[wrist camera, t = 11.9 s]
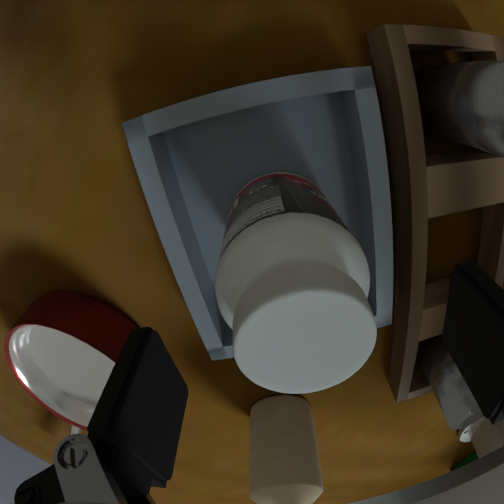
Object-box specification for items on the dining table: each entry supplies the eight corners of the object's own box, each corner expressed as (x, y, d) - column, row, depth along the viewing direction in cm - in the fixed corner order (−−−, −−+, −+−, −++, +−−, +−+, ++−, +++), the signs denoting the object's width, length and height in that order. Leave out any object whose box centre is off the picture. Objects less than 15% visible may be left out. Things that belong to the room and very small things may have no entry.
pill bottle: (347, 221, 17) (427, 343, 8) (275, 279, 18) (291, 425, 10) (282, 147, 15) (326, 215, 6) (207, 217, 17) (163, 348, 8)
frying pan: (138, 471, 34) (131, 507, 29) (56, 440, 32) (44, 473, 26) (181, 325, 21) (162, 398, 15) (24, 263, 19) (-25, 312, 13)
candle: (260, 389, 24) (262, 501, 15) (321, 397, 24) (338, 500, 16) (243, 422, 26) (240, 517, 17) (297, 428, 27) (306, 518, 18)
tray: (350, 71, 13) (370, 65, 11) (376, 296, 20) (391, 324, 17) (143, 118, 15) (121, 123, 12) (216, 328, 21) (211, 360, 18)
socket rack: (477, 40, 12) (502, 37, 9) (464, 355, 23) (475, 373, 21) (365, 33, 12) (383, 24, 10) (388, 381, 24) (396, 403, 22)
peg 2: (460, 309, 20) (510, 379, 13) (452, 347, 22) (490, 414, 15) (415, 324, 21) (458, 404, 14) (409, 362, 23) (443, 436, 16)
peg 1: (462, 66, 13) (561, 68, 5) (471, 134, 14) (566, 168, 7) (403, 64, 13) (501, 54, 6) (416, 140, 15) (512, 176, 8)
